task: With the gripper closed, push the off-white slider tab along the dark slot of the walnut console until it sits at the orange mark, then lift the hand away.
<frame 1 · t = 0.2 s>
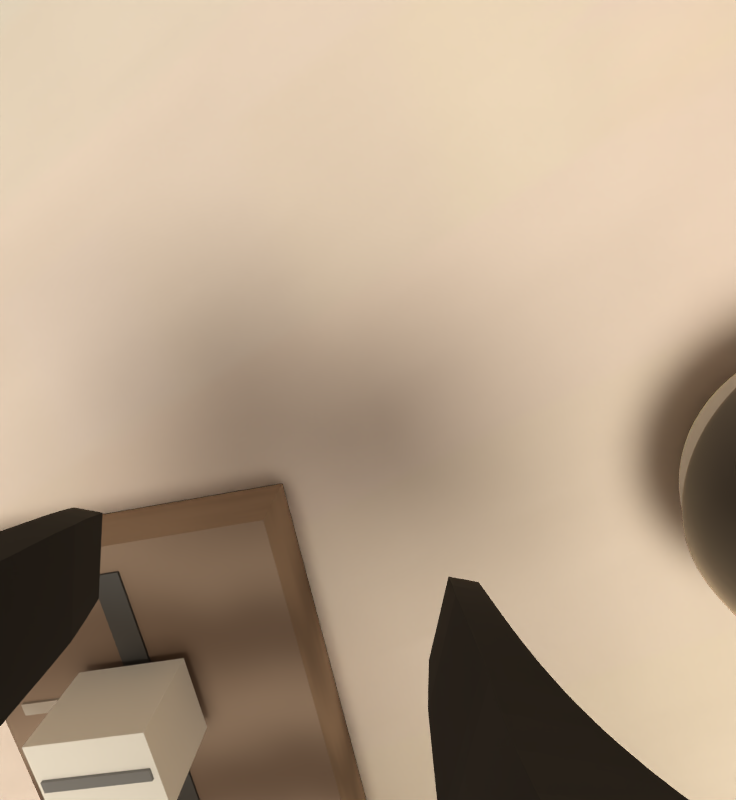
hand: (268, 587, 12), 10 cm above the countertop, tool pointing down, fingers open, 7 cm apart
fader tab: (121, 737, 19), point 5 cm above the countertop, slide at 5.0 cm
fader console: (211, 734, 25), on the countertop
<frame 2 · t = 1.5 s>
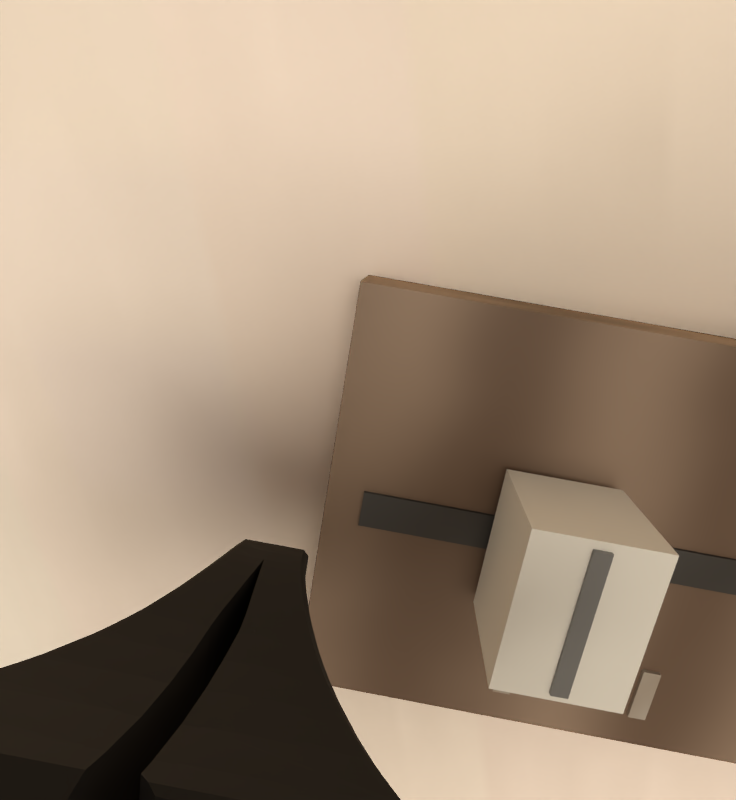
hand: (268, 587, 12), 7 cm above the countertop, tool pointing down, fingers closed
fader tab: (560, 583, 14), point 5 cm above the countertop, slide at 5.0 cm
fader console: (675, 522, 18), on the countertop
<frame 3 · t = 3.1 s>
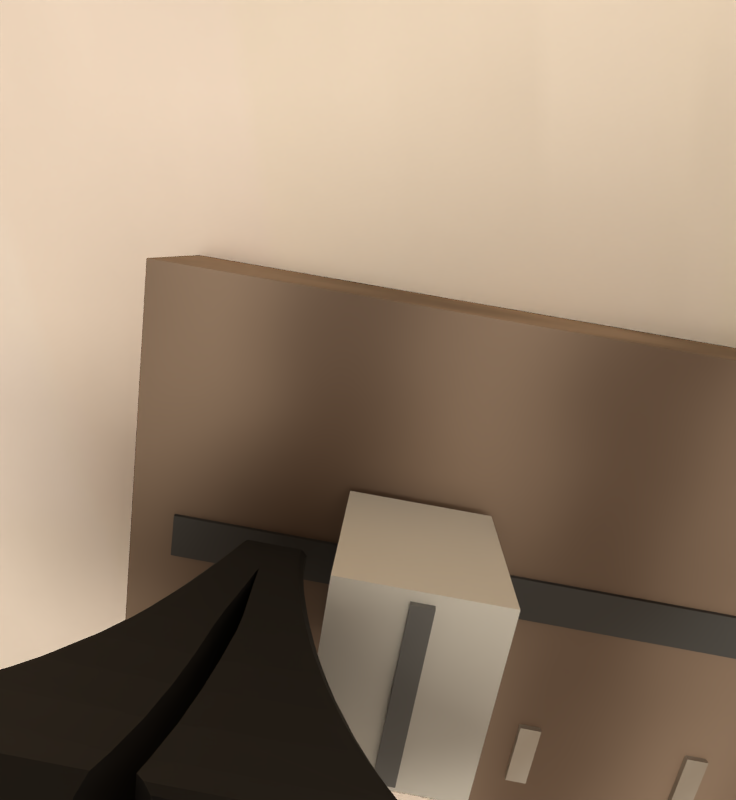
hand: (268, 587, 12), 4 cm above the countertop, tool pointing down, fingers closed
fader tab: (403, 635, 11), point 5 cm above the countertop, slide at 4.7 cm, touching gripper
fader console: (573, 545, 16), on the countertop
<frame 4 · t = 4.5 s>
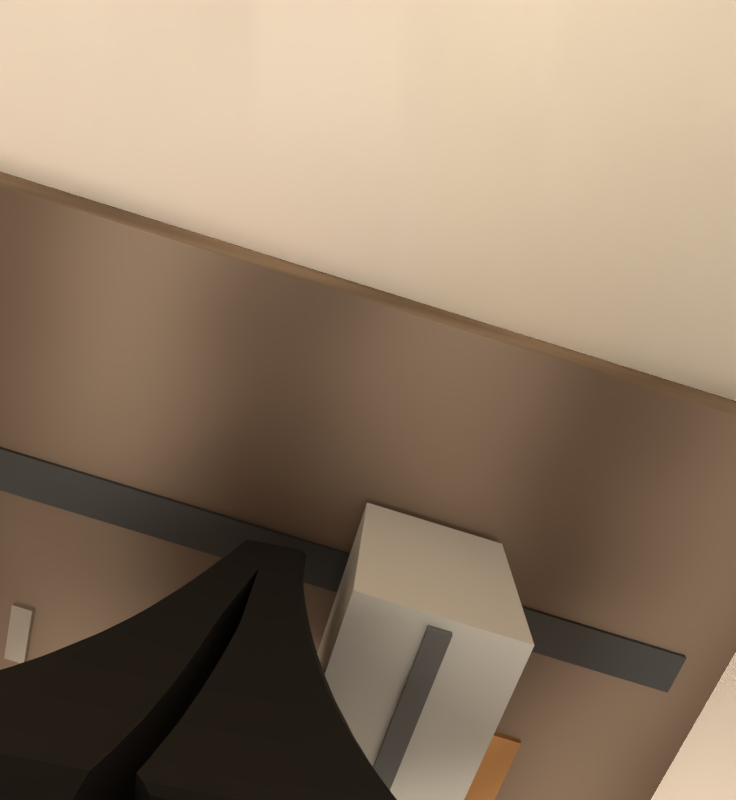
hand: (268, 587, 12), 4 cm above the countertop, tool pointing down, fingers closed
fader tab: (405, 652, 11), point 5 cm above the countertop, slide at -3.5 cm, touching gripper
fader console: (284, 490, 16), on the countertop
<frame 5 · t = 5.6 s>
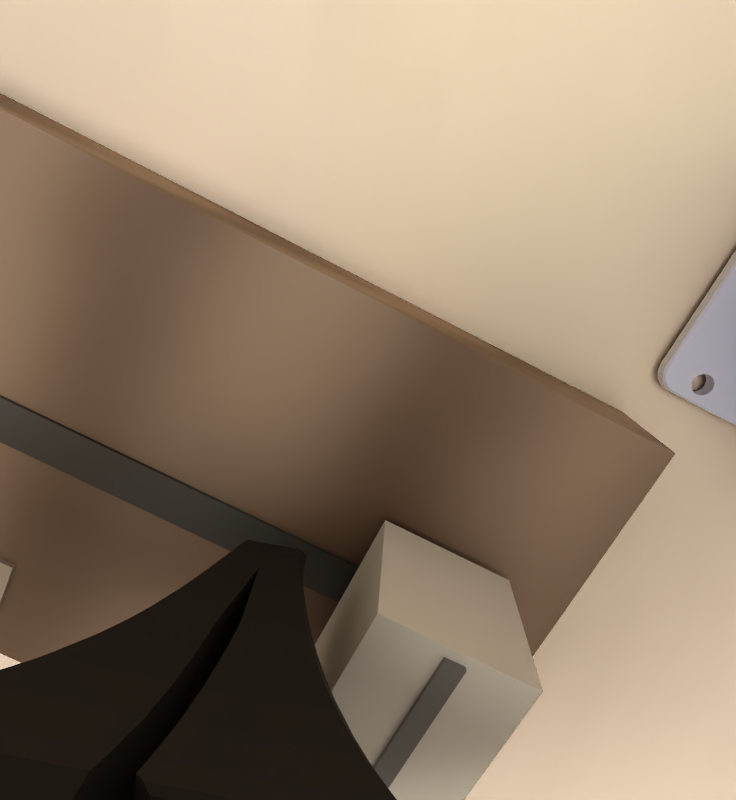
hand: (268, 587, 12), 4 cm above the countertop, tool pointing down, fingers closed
fader tab: (404, 674, 11), point 5 cm above the countertop, slide at -7.8 cm, touching gripper
fader console: (149, 420, 16), on the countertop
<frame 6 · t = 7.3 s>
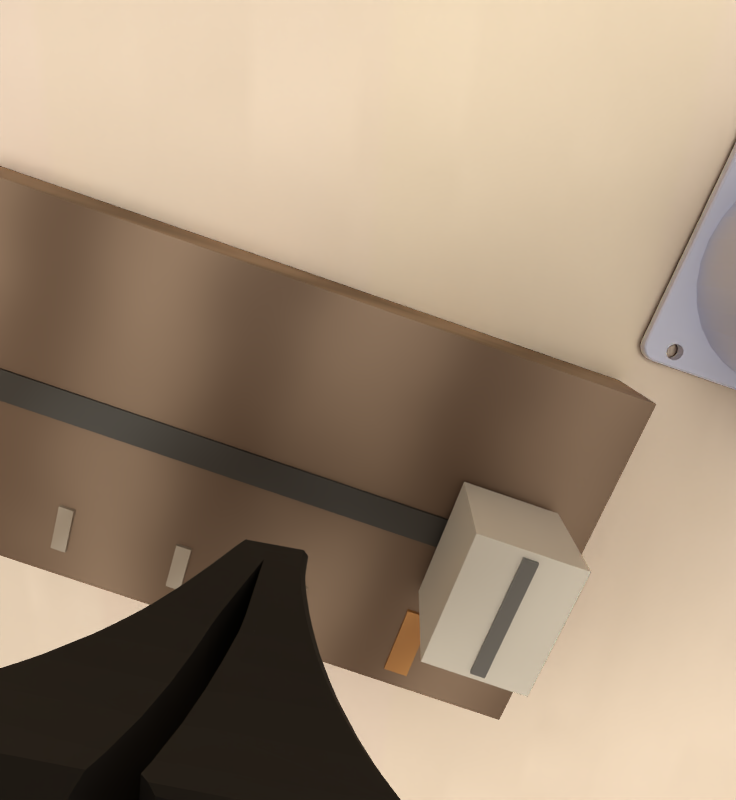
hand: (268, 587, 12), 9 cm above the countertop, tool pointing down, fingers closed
fader tab: (494, 583, 16), point 5 cm above the countertop, slide at -8.1 cm
fader console: (263, 434, 21), on the countertop
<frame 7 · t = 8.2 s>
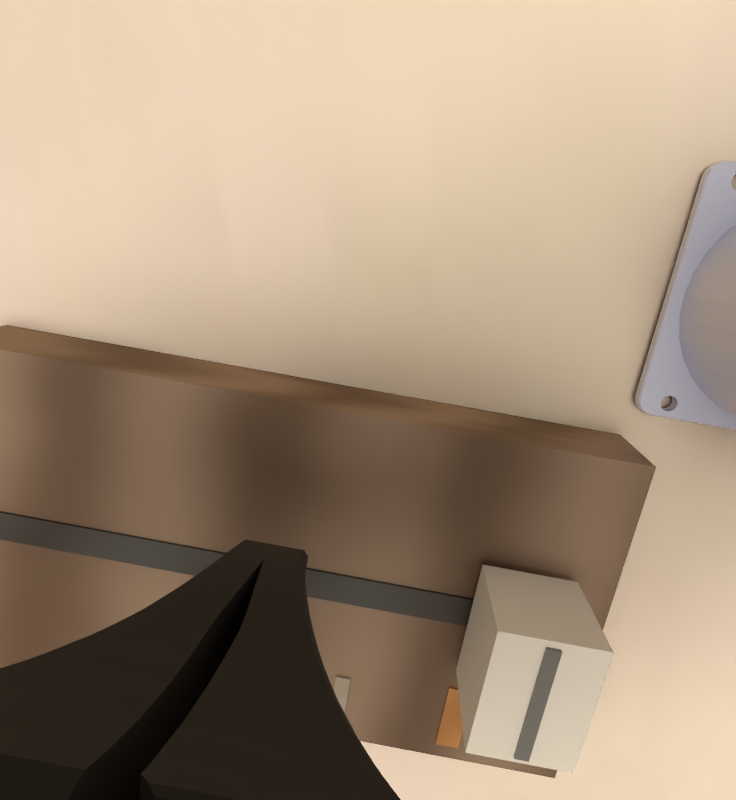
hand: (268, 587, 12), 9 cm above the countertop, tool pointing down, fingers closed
fader tab: (525, 663, 17), point 5 cm above the countertop, slide at -8.1 cm
fader console: (288, 530, 22), on the countertop
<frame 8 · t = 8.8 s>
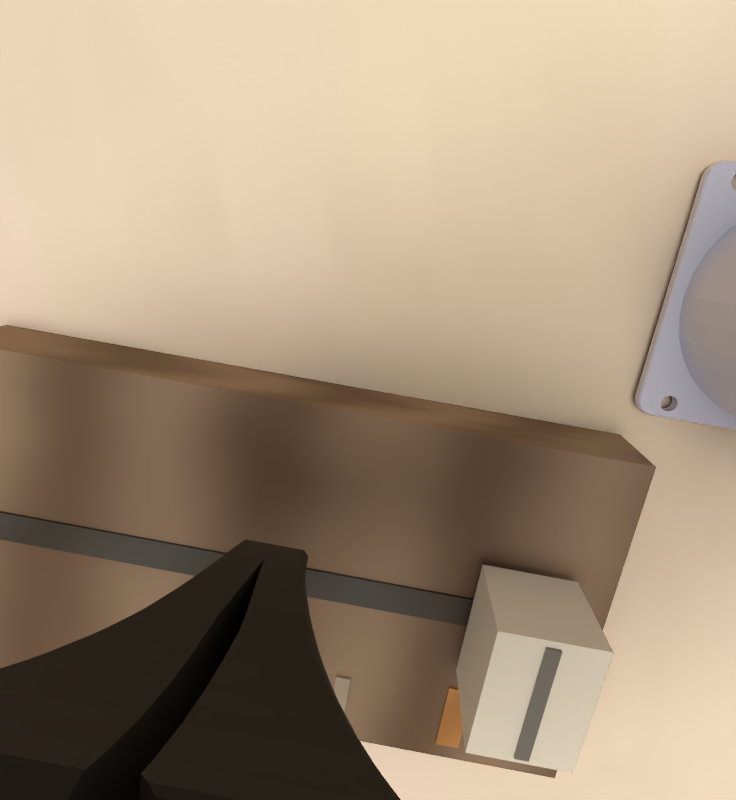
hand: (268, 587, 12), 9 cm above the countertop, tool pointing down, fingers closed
fader tab: (525, 663, 17), point 5 cm above the countertop, slide at -8.1 cm
fader console: (288, 530, 22), on the countertop
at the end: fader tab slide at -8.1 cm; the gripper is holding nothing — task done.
